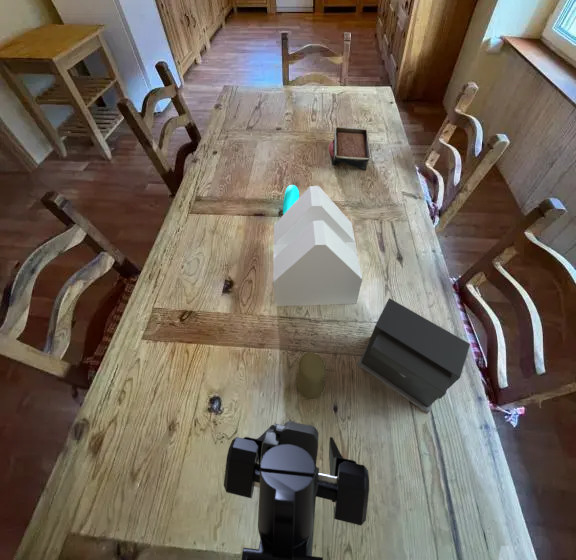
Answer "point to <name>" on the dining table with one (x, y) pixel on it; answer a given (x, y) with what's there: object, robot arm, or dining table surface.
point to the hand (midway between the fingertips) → (301, 433)
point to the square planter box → (350, 147)
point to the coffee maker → (413, 355)
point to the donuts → (290, 197)
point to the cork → (311, 376)
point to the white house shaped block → (315, 254)
